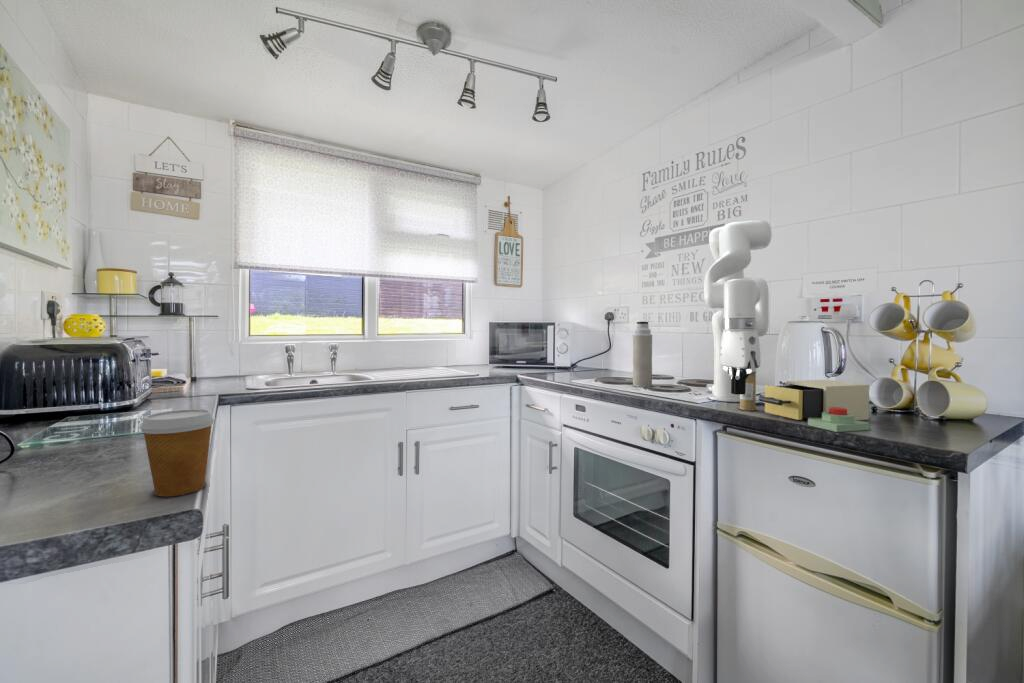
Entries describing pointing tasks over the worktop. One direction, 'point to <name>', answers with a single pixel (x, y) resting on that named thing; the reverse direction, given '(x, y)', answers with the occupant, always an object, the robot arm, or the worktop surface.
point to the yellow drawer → (793, 401)
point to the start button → (837, 411)
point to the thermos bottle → (642, 356)
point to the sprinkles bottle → (749, 394)
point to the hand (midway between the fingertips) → (738, 393)
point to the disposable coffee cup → (178, 449)
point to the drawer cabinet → (841, 396)
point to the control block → (838, 422)
